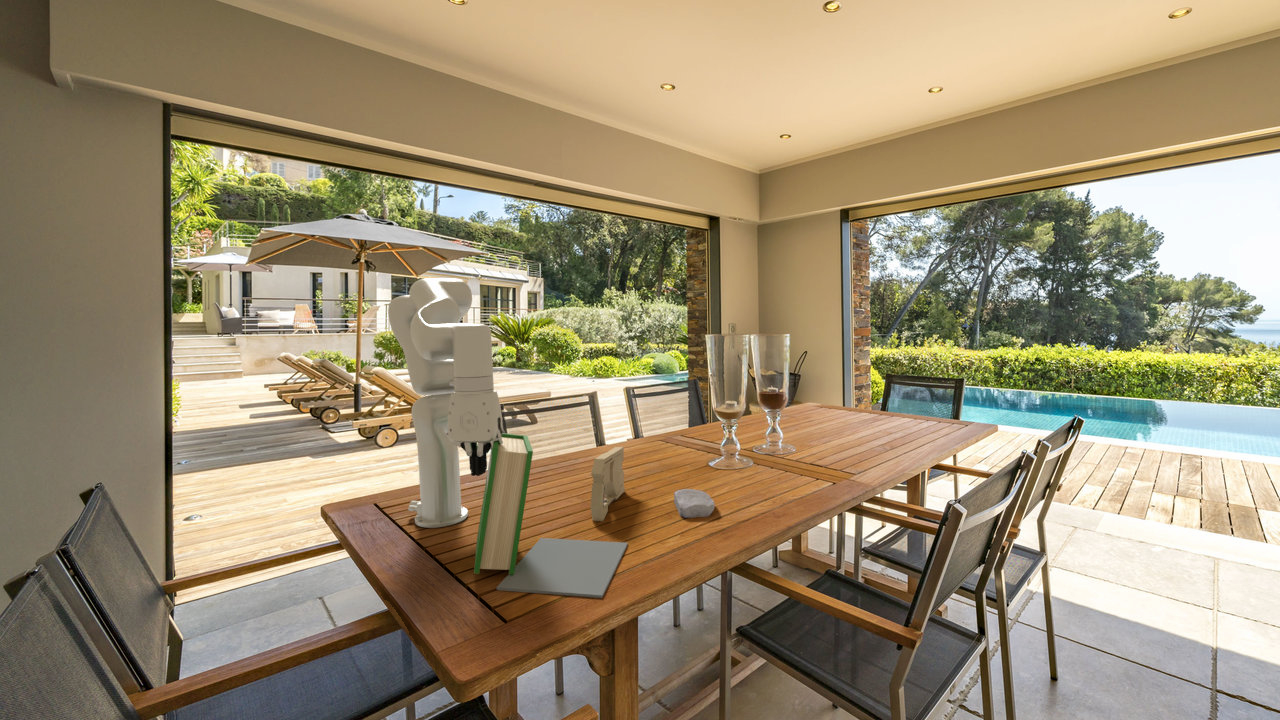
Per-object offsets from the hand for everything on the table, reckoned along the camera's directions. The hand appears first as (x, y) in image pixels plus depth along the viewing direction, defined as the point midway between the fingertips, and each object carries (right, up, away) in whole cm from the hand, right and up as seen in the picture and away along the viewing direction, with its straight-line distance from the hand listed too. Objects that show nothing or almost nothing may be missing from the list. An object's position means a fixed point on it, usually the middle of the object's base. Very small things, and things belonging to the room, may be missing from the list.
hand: (478, 473), depth 106 cm
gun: (+25, -16, +32) cm, 44 cm away
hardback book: (+3, -17, +1) cm, 18 cm away
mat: (+19, -18, -2) cm, 26 cm away
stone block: (+48, -16, +28) cm, 57 cm away
